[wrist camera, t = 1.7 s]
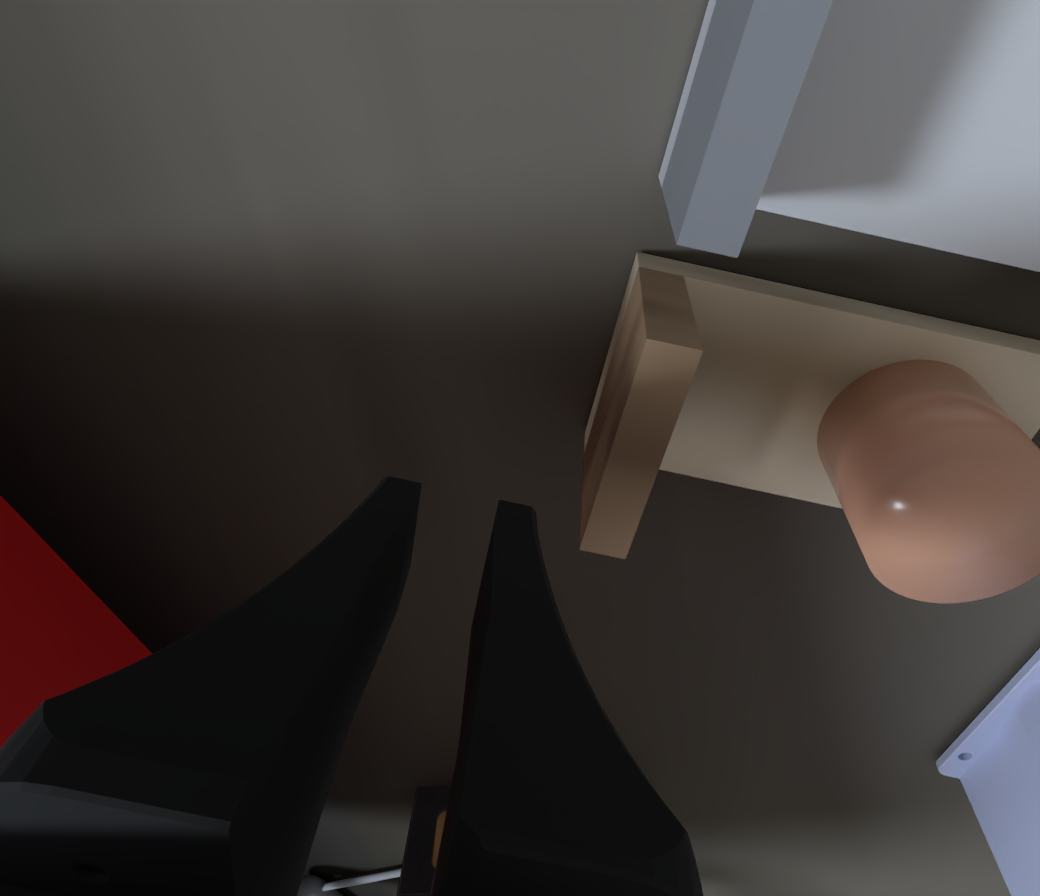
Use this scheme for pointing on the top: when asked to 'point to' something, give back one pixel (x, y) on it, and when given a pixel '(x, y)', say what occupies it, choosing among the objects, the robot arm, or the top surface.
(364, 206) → the top surface
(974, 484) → the canister
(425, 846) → the cigar case
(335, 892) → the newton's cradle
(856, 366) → the tan notched piece
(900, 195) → the pale blue block
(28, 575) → the book
